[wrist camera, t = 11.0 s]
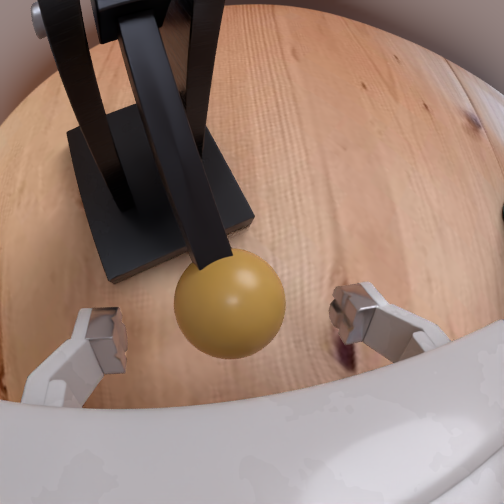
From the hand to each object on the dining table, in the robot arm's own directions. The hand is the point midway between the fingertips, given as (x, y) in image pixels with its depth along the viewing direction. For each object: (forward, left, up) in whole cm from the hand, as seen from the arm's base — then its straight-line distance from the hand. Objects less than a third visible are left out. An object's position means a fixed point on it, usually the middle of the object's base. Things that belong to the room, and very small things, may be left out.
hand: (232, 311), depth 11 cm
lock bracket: (0, +10, -6) cm, 12 cm away
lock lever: (0, +6, +2) cm, 6 cm away
